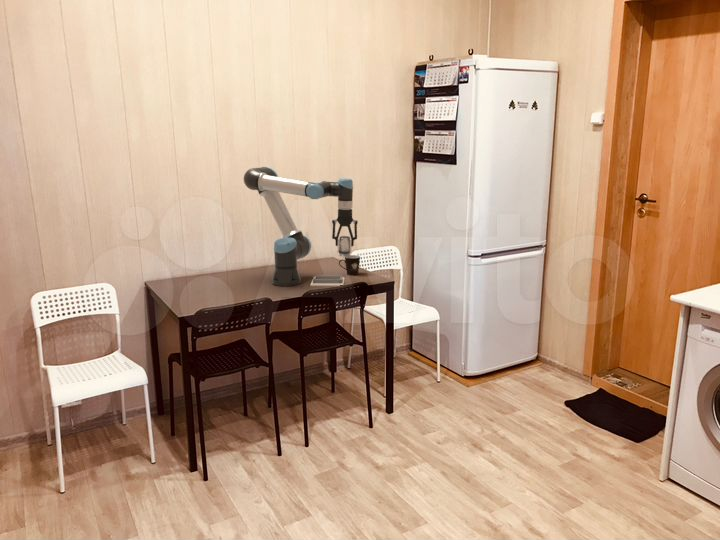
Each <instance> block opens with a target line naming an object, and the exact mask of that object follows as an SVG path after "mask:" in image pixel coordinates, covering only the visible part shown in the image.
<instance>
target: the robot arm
mask: <svg viewBox="0 0 720 540" xmlns="http://www.w3.org/2000/svg"><path fill="white" fill-rule="evenodd" d="M243 182H244V185H245V187H247V189H249V190H251V191H257V193H258V194H259V196H260V197H263V198H264V200H265V202H266V204H267V207H268V208H269V210H270V212H271V214H272V216H273V219H274V220H275V222H276V224H277V227H278V229H279V230H280V232H281V233H280V234H281V235H282V238H278V239H276V240H275V241H274V245H273V250H274V253H273V254H274V272H273V275H272V278H271V281H272V282H271V283H272V285H274V286H278V287H291V286H297V285H299V284H301V282H302V280H301V279H302V278H301V275H300V273H299V270H298V260H300V259H303V258H305V257H306V256H308V255H309V254H310V252H311V250H312V242H311V241H310V239H309V237H307V236H305V235H304V234H303V232H302V230H301V229H300V230H299V229H298V228H297V226H296V224H295V222H294V220H293V218H292V215H291V213H290V212H289V209H288V208H287V206H286V203H285V201H284V199H283V198H282V195H281V194H280V193H283V194H290V195H295V196H299V197H307V198H309V199H311V200H319V199H323V198H326V197H335V198H337V208H338V209H337V218H335V219H332V220H331V223H332V235H331V238H332V240H335V246H336V247H337V253H338V254H339V241H340V239H339V238H340V234H341V232H342V231H341V230H342V227H347V228H348V233H349V237H350V253H352V247H354V242H355V241H356V240H357V239H358V227H357V226H358V220H356V219H354V218H353V194H354V193H353V192H354V191H353V190H354V183H353V180H352V179H351V178H339V179H338V180H337V181H335V182H334V181H326V180H325V181H324V180H323V181H320V180H319V181H318V182H310V181H304V180H298V179H293V178H285V177H280V176H279V175H278V173H277V171H275V170H274V169H273V168H272V167H268V166H261V167H253V168H249V169H248V170H246V171H245V173H244V175H243ZM337 223H338V224H339V227H338V230H337V233H336V224H337ZM352 223H353V225H354V227H353V228H354V236H353V232H352V228H351V224H352Z"/></svg>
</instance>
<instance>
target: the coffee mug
mask: <svg viewBox="0 0 720 540" xmlns="http://www.w3.org/2000/svg"><path fill="white" fill-rule="evenodd" d="M360 260H361V256H360V255H356V254H355V255H354V254H350V256H348V257H344V259H339V262H338V265H339V266H340V268H343V269H344V270H345V271H346V275H348V276H357V275H359V269H360ZM342 261H343V262H344V263H345V267H344V266H343V265H341V262H342Z"/></svg>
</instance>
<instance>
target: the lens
mask: <svg viewBox="0 0 720 540" xmlns="http://www.w3.org/2000/svg"><path fill="white" fill-rule="evenodd" d="M350 240H351V237H350V235H349V236H348V235H341V236H340V235H339V253H338V256H339V257H344V258H345V257H348V256H350V255H351V254H350Z"/></svg>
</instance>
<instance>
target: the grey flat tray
mask: <svg viewBox="0 0 720 540" xmlns="http://www.w3.org/2000/svg"><path fill="white" fill-rule="evenodd" d="M310 282H311V283H310V287H341V286H340V285H343V286H344V283H345V277H343V275H314V276H313V278H312V280H311V281H310Z"/></svg>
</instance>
